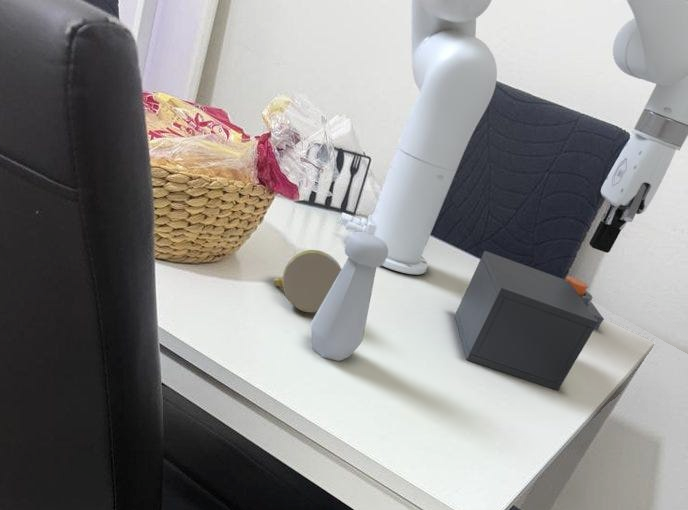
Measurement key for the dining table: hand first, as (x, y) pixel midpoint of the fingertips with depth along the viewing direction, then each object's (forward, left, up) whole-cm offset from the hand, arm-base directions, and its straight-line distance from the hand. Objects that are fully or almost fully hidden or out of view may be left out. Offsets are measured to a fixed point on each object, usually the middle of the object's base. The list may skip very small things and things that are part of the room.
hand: (598, 248), depth 116 cm
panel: (0, 0, -11) cm, 11 cm away
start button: (0, 0, -8) cm, 8 cm away
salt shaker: (-40, -47, -12) cm, 63 cm away
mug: (-44, -35, -12) cm, 58 cm away
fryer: (-16, -29, -11) cm, 35 cm away
